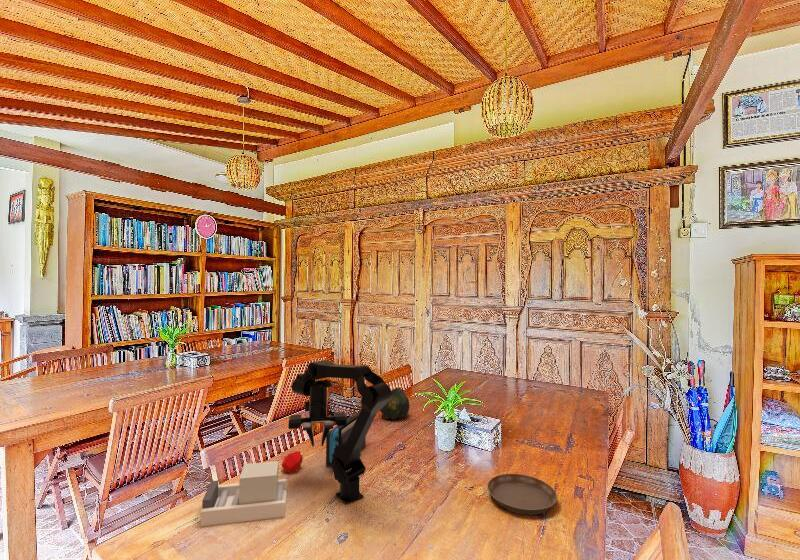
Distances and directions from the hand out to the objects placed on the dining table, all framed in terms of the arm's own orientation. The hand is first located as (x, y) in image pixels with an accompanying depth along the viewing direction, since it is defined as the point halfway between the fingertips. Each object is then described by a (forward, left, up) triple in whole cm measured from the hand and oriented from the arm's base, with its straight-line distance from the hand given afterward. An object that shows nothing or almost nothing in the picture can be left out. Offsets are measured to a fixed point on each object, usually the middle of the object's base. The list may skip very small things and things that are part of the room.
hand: (317, 445), depth 135 cm
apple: (+13, +3, -12) cm, 18 cm away
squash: (+35, -59, -12) cm, 70 cm away
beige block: (-3, +20, -9) cm, 22 cm away
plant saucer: (-47, -46, -12) cm, 67 cm away
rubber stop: (+3, +32, -11) cm, 34 cm away
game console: (+11, -18, -12) cm, 24 cm away
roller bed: (-1, +23, -12) cm, 26 cm away
